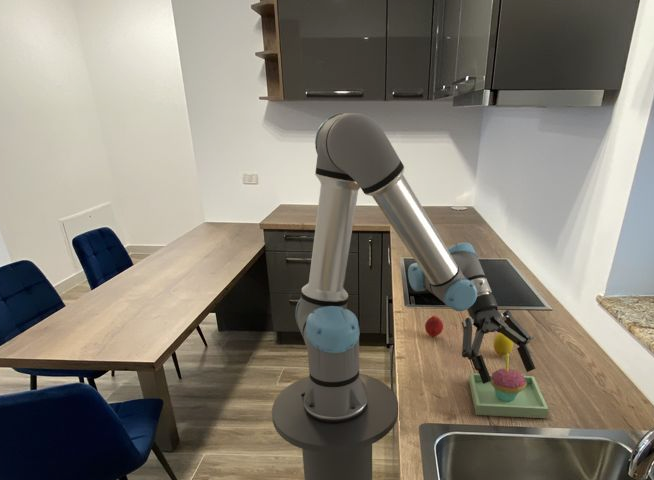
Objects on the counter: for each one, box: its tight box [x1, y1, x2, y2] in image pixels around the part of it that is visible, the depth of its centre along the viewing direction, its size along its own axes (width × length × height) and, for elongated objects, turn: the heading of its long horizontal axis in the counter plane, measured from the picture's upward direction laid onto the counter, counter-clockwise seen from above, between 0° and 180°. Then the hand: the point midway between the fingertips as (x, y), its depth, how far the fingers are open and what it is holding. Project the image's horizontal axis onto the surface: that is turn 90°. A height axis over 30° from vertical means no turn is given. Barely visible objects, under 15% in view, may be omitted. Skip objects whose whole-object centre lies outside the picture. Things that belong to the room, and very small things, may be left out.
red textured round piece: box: [424, 313, 444, 338], centre depth 143 cm, size 6×6×8 cm
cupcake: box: [491, 351, 526, 401], centre depth 110 cm, size 9×8×12 cm
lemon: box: [493, 332, 514, 357], centre depth 132 cm, size 6×6×8 cm
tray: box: [468, 372, 549, 419], centre depth 112 cm, size 17×15×3 cm
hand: (509, 376), depth 109 cm, fingers open, 13 cm apart
